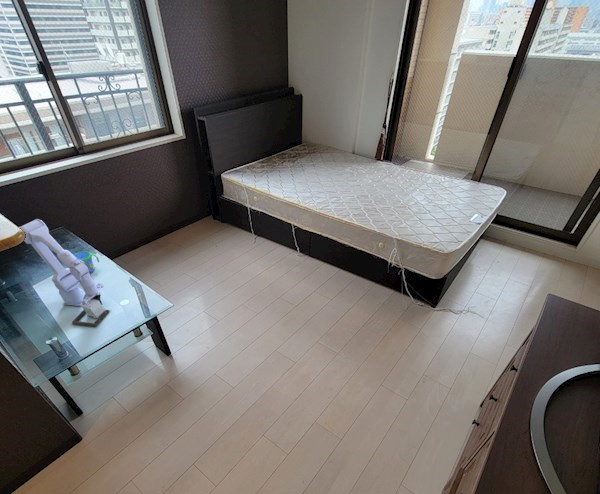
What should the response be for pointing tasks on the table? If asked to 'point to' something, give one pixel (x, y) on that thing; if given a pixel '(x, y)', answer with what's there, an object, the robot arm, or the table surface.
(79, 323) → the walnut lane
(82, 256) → the snack cup
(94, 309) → the white cardboard box
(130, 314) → the table surface
